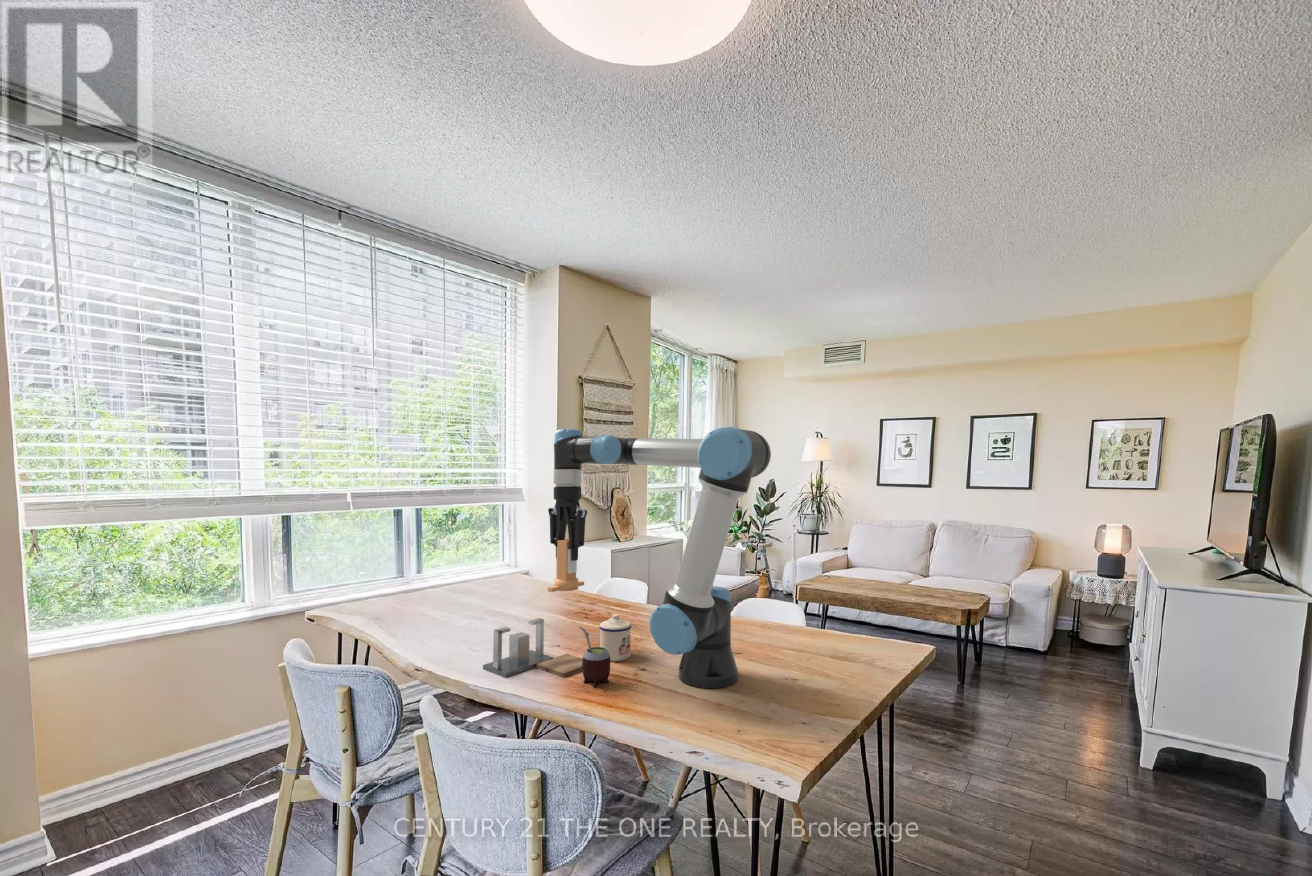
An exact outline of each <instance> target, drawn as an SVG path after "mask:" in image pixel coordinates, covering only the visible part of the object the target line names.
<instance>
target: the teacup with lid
mask: <svg viewBox="0 0 1312 876" xmlns="http://www.w3.org/2000/svg"><path fill="white" fill-rule="evenodd" d="M599 629H600V630H599V631H600V632H599V647H603V648H605V649H607V651H608V652H609V654H610V660H611V662H621V661H622V662H623V661H626V660H627V659H629V658H630V657H631V629H632V624H631V623H630V621H628V620H625V619H623V618H621V617H620V615H619V614H617V613H616V614H615V613H614V614H612V615H611V617H610V618H609V619H607V620H604V621H602V622H601V623H600V624H599Z"/></svg>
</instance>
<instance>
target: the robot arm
mask: <svg viewBox="0 0 1312 876" xmlns="http://www.w3.org/2000/svg"><path fill="white" fill-rule="evenodd" d="M553 441H554V442H553V448H554V449H553V454H554V456H553V457H554V459H553V461H554V462H553V463H554V466H553V484H554V485H555V486H554V487H553V499H554V501H555V504H554V506H553V507H549V508H548V510H547V511H548V515H549V538H550V539H549V540H550V544H552V545H554V547H555V558H556V559H557V547H558V540H565V539H566V533H567V534H568V535H567V536H568V539H569V544H570V547H568V556H567V573H575V572H576V573H577V571H578V568H577V564H578V563H577V561H578V559H579V548H580V547H583V546H584V545H585V535H586V534H585V533H586V532H585V531H586V519H587V518H586V517H587V514H588V510H587V509H583V508H582V507H581V504H580V500H581V499H582V486H580V485H581V484H582V466H583V465H585V464H592V465H593V464H594V465H595V464H597V465H598V464H599V465H627V466H628V465H629V466H632V465H633V466H638V465H639V466H654V467H655V466H661V467H677V468H679V467H682V468H700V472H699V475H698V480H699V482H700V484H701V487H702V488H701V492H700V496H699V498H698V499H699V500H698V503H697V507H696V508H695V509H696V510H695V511H694V513H695V514H694V517H693V521H692V523H691V528H690V531H689V534H688V536H687V541H686V544H685V547H684V551H683V555H682V559H681V563H680V565H679V569H678V572H677V576H676V578H675V582H673V583H671V584H670V585H667V588H666V591H665V594H664V598H663V601H662V604H660V605H659V606H658V605H657V607H656V608H655V609H654V610H653V611H652V613H651V615H650V619H649V629H650V634H651V636H652V638H653V639H654V640H653V641H654V642H655V644H656V645H657V646H658V648H660V649H661V650H662V651H663V652H664V653H667V654H669V655H673V656H678V655H679V656H680V655H682V656H681V659H680V662H679V665H678V678H679V680H680V681H681V682H682V683H684V684H686V685H689V686H691V687H696V688H702V689H703V688H704V689H719V688H720V689H721V688H725V687H729V686H732V685H734V684H736V683H737V681H738V679H739V670H738V669H739V668H738V667H737V664H736V660H735V656H734V654H733V650H732V644H731V643H732V642H731V639H732V636H731V635H732V633H731V630H732V628H731V627H732V626H731V625H732V623H731V622H732V617H731V615H732V614H731V612H732V610H731V607H732V601H731V592H730V590H729V589H728V588H726V587H723V586H722V587H721V586H716V585H714V582H715V579H716V576H717V572H718V569H719V565H720V562H721V559H722V555H723V551H724V549H725V545H726V542H727V541H726V540H727V538H728V536H729V535H728V534H729V531H730V527H731V524H732V521H733V518H734V515H735V511H736V507H737V504H738V502H739V498H740V497H742V496H744V495H745V494H747V493H748V491H749V489H750V484H751V481H752V479H753V478H755V477H757V476H759V475H761V474H763V472H765V471H766V469H767V468H768V467H769V464H770V461H771V456H772V453H771V447H770V445H769V443H768V440H766V438H765V437H764V436H763V435H761V434H760V433H758V432H756V431H754V430H747V429H742V428H738V427H733V426H727V427H726V426H725V427H719V428H718V427H717V428H715V429H713V430H712V431H710V432H708V433H707V434H706V435H705V436H704V437H703V438H654V437H653V438H651V437H650V438H648V437H647V438H646V437H643V438H642V437H639V438H638V437H634V438H633V437H616V436H614V435H608V434H600V435H583V431H582V430H580V429H576V428H575V429H574V428H567V429H565V428H561V429H560V428H559V429H557V430H556V431H555V433H554V440H553Z"/></svg>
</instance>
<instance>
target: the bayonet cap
mask: <svg viewBox="0 0 1312 876" xmlns="http://www.w3.org/2000/svg"><path fill="white" fill-rule="evenodd" d="M568 547H570V544H569V538H565V540H558V547H557V558H556V578H555V579H554V586H549V587H547V592H550V593H555V592H557V591H560V592H572V591H576V590H579V587H582V586H585V581H584V580H579V578H578V577H577V572H575V573H567V556H568Z"/></svg>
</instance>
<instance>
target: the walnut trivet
mask: <svg viewBox="0 0 1312 876" xmlns="http://www.w3.org/2000/svg"><path fill="white" fill-rule="evenodd" d="M582 659H583V657H579V656H575V655H574V654H570V653H565V654H562V655H559V656H556V657H554V658H553V659H550V660H547V661H544V662H541V663H538V664H536V667H535V668H536V669H537V670H538V669H539V670H541V671H543V672H544V671H545V672H547V673H550V674H553V675H555V676H558V677H561V678H566V677H569V676H572V675H574V674H577V673H580V672H583V670H582Z"/></svg>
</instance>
